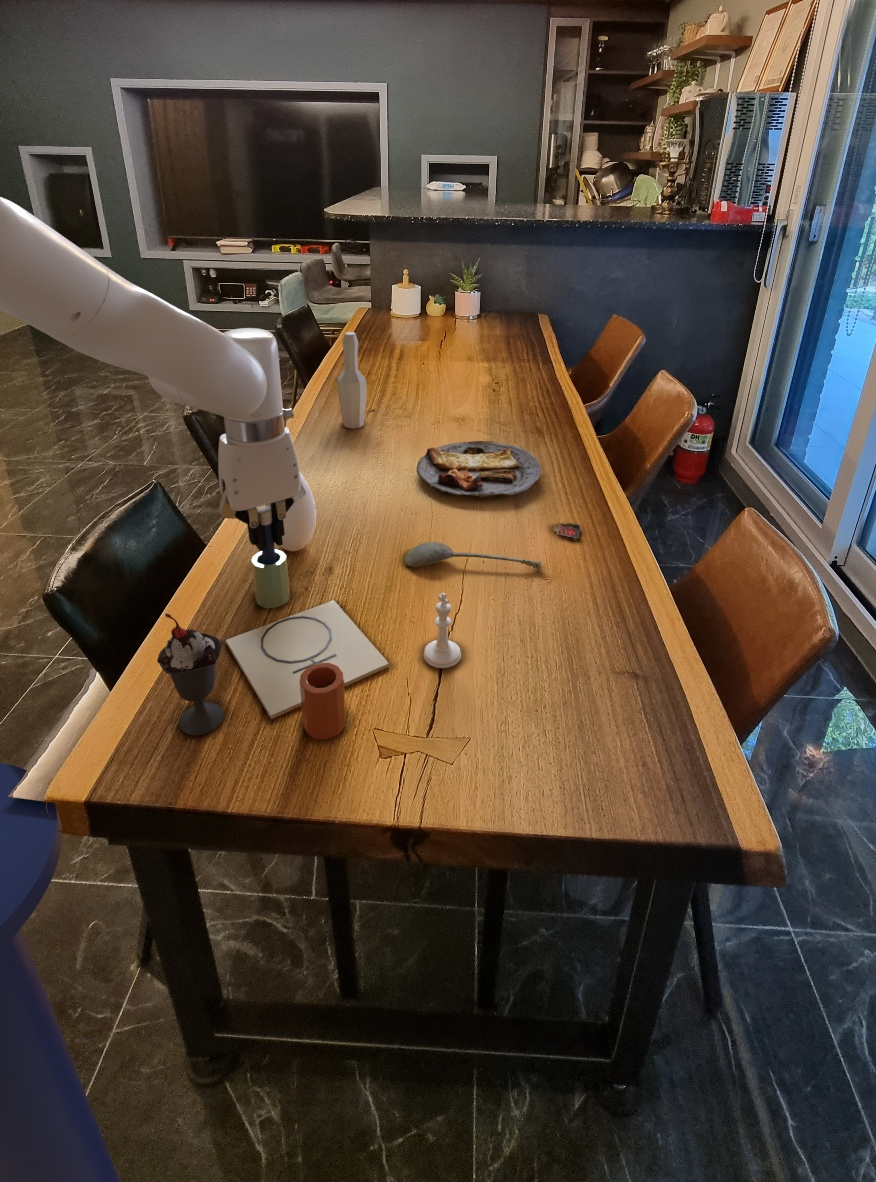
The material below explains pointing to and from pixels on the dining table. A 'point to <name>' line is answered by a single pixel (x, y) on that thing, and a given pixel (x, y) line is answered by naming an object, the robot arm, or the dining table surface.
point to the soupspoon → (450, 555)
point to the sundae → (193, 676)
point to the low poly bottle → (351, 385)
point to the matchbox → (568, 530)
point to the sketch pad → (302, 654)
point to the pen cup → (270, 580)
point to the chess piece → (442, 639)
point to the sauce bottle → (299, 521)
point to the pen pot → (323, 700)
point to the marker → (267, 535)
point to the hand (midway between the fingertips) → (267, 543)
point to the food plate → (479, 468)
